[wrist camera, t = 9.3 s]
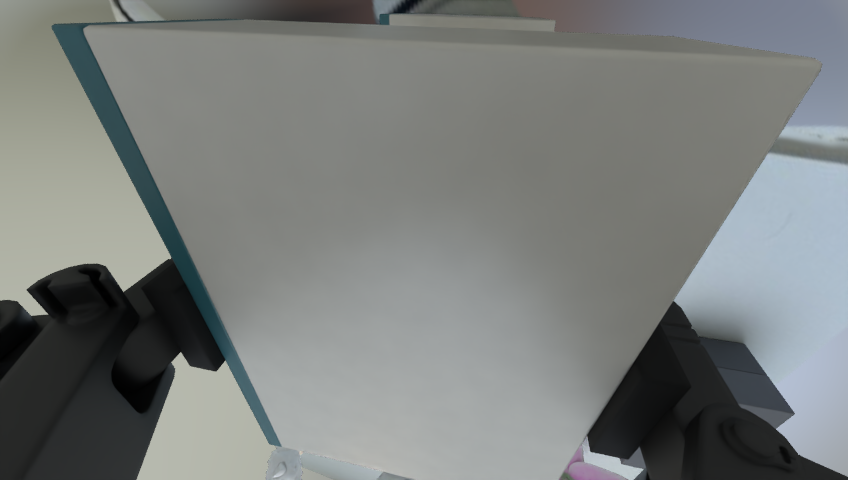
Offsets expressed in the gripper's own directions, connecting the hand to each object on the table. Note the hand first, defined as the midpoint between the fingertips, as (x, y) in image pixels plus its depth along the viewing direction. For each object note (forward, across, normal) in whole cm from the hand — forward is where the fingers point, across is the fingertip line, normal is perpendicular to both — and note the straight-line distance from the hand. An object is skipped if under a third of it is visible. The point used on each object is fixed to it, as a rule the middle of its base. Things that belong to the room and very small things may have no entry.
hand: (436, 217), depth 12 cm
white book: (-3, 0, 0) cm, 3 cm away
